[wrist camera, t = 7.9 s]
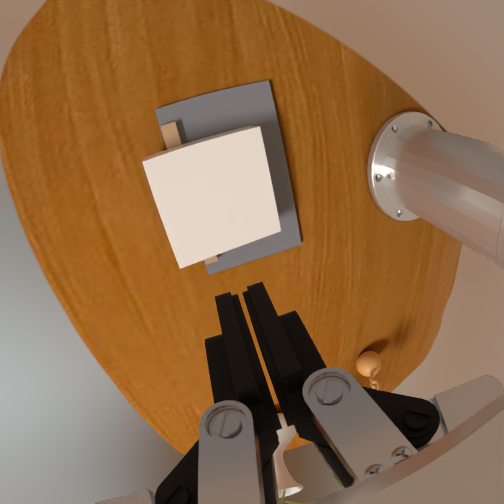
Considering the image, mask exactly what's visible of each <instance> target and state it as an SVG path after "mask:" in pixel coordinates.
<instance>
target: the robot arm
mask: <svg viewBox="0 0 504 504" xmlns="http://www.w3.org/2000/svg"><path fill="white" fill-rule="evenodd" d="M367 172H368V183H369V188H370V192H371V194H372V197H373V199H374V201H375V202H376V204H377V205H378V207H379V208H380V209H381V210H382V211H383V212H384V213H386V214H387V215H389V216H390V217H392V218H394V219H396V220H401V221H410V220H414V219H417V218H419V217H420V218H422V219H424V220H425V221H427V222H429V223H430V224H432V225H434V226H435V227H437V228H439V229H440V230H442V231H444V232H445V233H447V234H449V235H450V236H452V237H453V238H455V239H457V240H458V241H460V242H461V243H463V244H464V245H466V246H468V247H469V248H471V249H472V250H474V251H475V252H477V253H478V254H480V255H481V256H483V257H484V258H485V259H487V260H488V261H490V262H491V263H493V264H494V265H496V266H497V267H498V268H500V269H502V270H503V271H504V148H501V147H499V146H495V145H492V144H489V143H486V142H483V141H479V140H475V139H472V138H468V137H464V136H461V135H457V134H453V133H449V132H445V131H442V129H441V128H440V126H439V125H438V124H437V123H436V121H435V120H434V119H432V118H431V117H429V116H428V115H426V114H423V113H420V112H414V111H406V112H401V113H398V114H396V115H394V116H393V117H391V118H390V119H388V120H387V121H386V122H385V123H384V124H383V126H382V127H381V128H380V130H379V131H378V133H377V134H376V136H375V138H374V141H373V143H372V146H371V149H370V153H369V157H368V167H367ZM247 289H248V291H245V292H242V293H243V297H244V300H245V303H246V306H247V309H248V312H249V316H250V319H251V322H252V325H253V328H254V331H255V334H256V337H257V341H258V344H259V347H260V350H261V353H262V356H263V358H264V361H265V364H266V367H267V370H268V373H269V376H270V379H271V382H272V384H273V387H274V390H275V393H276V396H277V399H278V401H279V404H280V407H281V410H282V413H283V415H284V418H285V421H286V424H287V426H288V427H289V426H292V425H294V427H295V429H296V432H298V434H299V437H300V438H303V439H306V440H309V441H312V442H313V445H314V446H315V448H316V450H317V451H318V453H319V454H320V456H321V457H322V459H323V460H324V462H325V463H326V465H327V466H328V468H329V470H330V471H331V473H332V474H333V476H334V477H335V479H336V480H337V482H338V483H339V485H340V486H341V488H342V489H343V490H341V491H338V492H335V493H333V494H330V495H328V496H325V497H322V498H319V499H316V500H313V501H310V502H307V503H304V504H504V387H503V385H502V384H501V382H500V381H499V380H498V379H497V378H495V377H494V376H490V375H485V376H480V377H478V378H476V379H474V380H471V381H469V382H467V383H464V384H462V385H459V386H457V387H454V388H452V389H449V390H446V391H444V392H441V393H438V394H435V395H434V397H433V398H431V399H428V400H424V399H421V398H415V397H410V396H405V395H399V394H394V393H390V392H385V391H380V390H376V389H371V388H367V387H362V386H361V385H360V384H359V383H358V382H357V381H356V379H355V378H354V377H353V376H352V375H351V374H350V373H348V372H347V371H345V370H343V369H340V368H334V367H330V368H327V367H326V365H325V363H324V361H323V360H322V358H321V356H320V354H319V352H318V350H317V348H316V347H315V345H314V343H313V341H312V339H311V337H310V335H309V334H308V332H307V330H306V328H305V326H304V324H303V323H302V321H301V319H300V317H299V315H298V314H297V312H296V311H292V312H290V313H287V314H284V315H281V316H278V315H277V313H276V311H275V309H274V306H273V304H272V302H271V300H270V298H269V295H268V293H267V291H266V289H265V287H264V285H263V282H260V283H257V284H253V285H250V286H247ZM215 300H216V305H217V310H218V315H219V320H220V325H221V329H222V334H221V335H217V336H214V337H211V338H207V339H205V347H206V354H207V361H208V367H209V374H210V380H211V386H212V392H213V398H214V405H212V406H210V407H209V408H208V409H207V410H206V411H205V412H204V414H203V416H202V417H201V420H200V425H199V440H198V441H197V442H196V443H195V444H194V446H193V447H192V448H191V449H190V450H189V452H188V453H187V454H186V455H185V456H184V458H183V459H182V460H181V461H180V462H179V464H178V465H177V466H176V467H175V468H174V469H173V470H172V472H171V473H170V474H169V475H168V476H167V477H166V478H165V479H164V481H163V482H162V483H161V484H160V485H159V487H158V488H157V489H154V490H149V489H146V490H143V491H139V492H135V493H132V494H128V495H125V496H121V497H116V498H112V499H108V500H103V501H100V502H98V503H95V504H280V503H279V495H278V487H277V479H276V472H275V464H274V457H273V454H274V452H275V450H276V449H277V447H278V446H279V444H280V443H279V440H278V439H279V437H278V434H277V430H280V429H282V426H281V423H280V420H279V417H278V414H277V411H276V408H275V405H274V402H273V399H272V396H271V394H270V391H269V388H268V385H267V382H266V379H265V376H264V373H263V370H262V367H261V364H260V361H259V358H258V354H257V351H256V348H255V345H254V343H253V340H252V337H251V334H250V331H249V328H248V325H247V322H246V319H245V316H244V313H243V310H242V307H241V303H240V300H239V297H238V294H236V295H233V296H232V295H231V293H230V292H228V293H225V294H222V295H218V296H215Z"/></svg>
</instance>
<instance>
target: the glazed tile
mask: <svg viewBox="0 0 504 504" xmlns="http://www.w3.org/2000/svg"><path fill="white" fill-rule="evenodd" d="M142 163H143V166H144V169H145V172H146V175H147V178H148V181H149V184H150V187H151V190H152V193H153V196H154V199H155V202H156V205H157V208H158V211H159V214H160V216H161V219H162V222H163V225H164V227H165V230H166V233H167V236H168V238H169V241H170V244H171V246H172V249H173V252H174V254H175V257H176V260H177V262H178V265H179V267H180V268H183V267H186V266H188V265H191V264H194V263H196V262H199V261H202V260H204V259H207V258H210V257H212V256H215V255H218V254H220V253H223V252H226V251H229V250H231V249H234V248H237V247H239V246H242V245H245V244H248V243H250V242H253V241H256V240H258V239H261V238H264V237H267V236H269V235H272V234H275V233H278V232H280V231H281V228H280V222H279V217H278V212H277V207H276V202H275V197H274V192H273V187H272V182H271V177H270V172H269V167H268V162H267V157H266V153H265V148H264V143H263V138H262V134H261V129H260V127H259V126H247V127H243V128H239V129H235V130H231V131H227V132H223V133H220V134H216V135H212V136H209V137H205V138H202V139H199V140H195V141H192V142H189V143H186V144H182V145H179V146H176V147H173V148H170V149H167V150H164V151H161V152H158V153H155V154H152V155H150V156H147V157H144V158H142Z"/></svg>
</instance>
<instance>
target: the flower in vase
mask: <svg viewBox="0 0 504 504" xmlns="http://www.w3.org/2000/svg"><path fill="white" fill-rule="evenodd" d="M277 414H278V417H279V420H280V423H281V426H282V429H280V430H277V434H278V437H279V439H278V440H279V443H280V444H279V446H278V447H277V449H276V450H275V452H274V454H273V457H274V464H275V472H276V479H277V487H278V495H279V498H280V497H282V499H281V502H280V504H282V503H283V500H284V497H285V496H288V495H291V494H294V493H296V492H299V491H300V490H302V489H303V486H302V485H300V484H298V483H297V482H295V481H294V480H293V478H292V477H291V476H290V474H289V472H288V471H287V468H286V466H285V464H284V461H283V456H282V455H283V451H284V449H285V448H286V446H287V445H288V444H289V443H290V441H291V440H292V439H293V437H294V436H295V434H296V429H295V427H294V425H292V426H289V427H288V426H287V424H286V421H285V418H284V415H283V413H277ZM285 502H287V503H291V504H304V502H290V501H289V502H288V501H285Z"/></svg>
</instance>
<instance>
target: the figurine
mask: <svg viewBox="0 0 504 504" xmlns="http://www.w3.org/2000/svg"><path fill="white" fill-rule="evenodd" d="M381 365H382V360H381V357H380V356H379V354H377V353H376V352H374V351H366V352H364V353H362V354H361V355H360V356H359V357H358V359H357V363H356V366H357V370H358V371H359V373H360V374H362V375H364V376H370V385H371V387H372V388H373V389H376V390H380V391H383V388H382V386H383V382H382V381H380V378H379V379H378V380H377V378H376V379H374V377H375V376H376V375H377V373H378V372H379V370H380V368H381ZM375 383H377V385H376V384H375Z"/></svg>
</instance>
